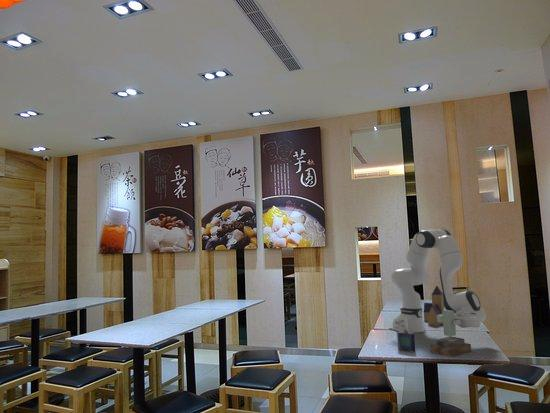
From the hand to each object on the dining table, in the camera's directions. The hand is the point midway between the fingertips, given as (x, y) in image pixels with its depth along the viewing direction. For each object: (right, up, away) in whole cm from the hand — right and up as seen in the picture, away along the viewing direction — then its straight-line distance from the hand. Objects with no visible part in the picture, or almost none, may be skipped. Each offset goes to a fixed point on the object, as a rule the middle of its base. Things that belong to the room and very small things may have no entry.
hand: (447, 322), depth 206 cm
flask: (-19, -16, +5) cm, 25 cm away
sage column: (+1, -7, 0) cm, 7 cm away
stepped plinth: (+1, -15, -1) cm, 15 cm away
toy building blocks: (+21, -22, +74) cm, 80 cm away
